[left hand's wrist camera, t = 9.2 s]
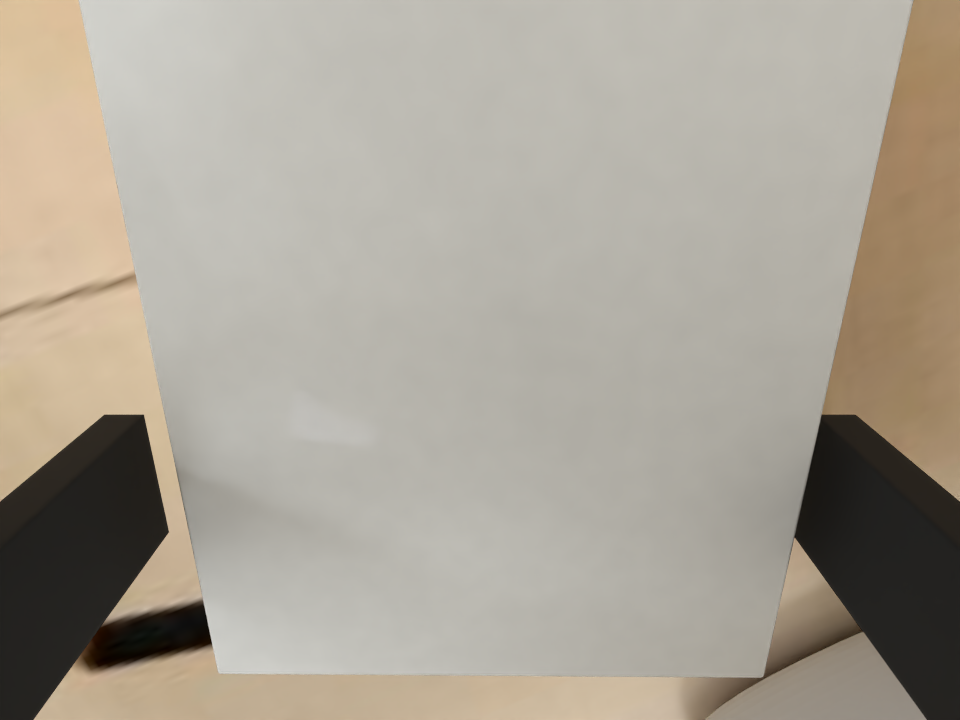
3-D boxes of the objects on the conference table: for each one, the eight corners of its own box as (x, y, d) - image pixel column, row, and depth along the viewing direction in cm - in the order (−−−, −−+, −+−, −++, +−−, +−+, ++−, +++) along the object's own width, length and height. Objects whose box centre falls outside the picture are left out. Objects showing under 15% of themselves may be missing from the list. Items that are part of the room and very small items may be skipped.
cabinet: (279, -148, 17) (-30, -509, 7) (703, -150, 17) (1031, -520, 7) (334, 422, 24) (217, 675, 13) (642, 423, 24) (764, 679, 13)
